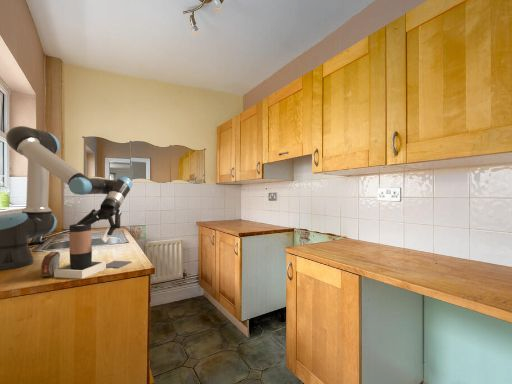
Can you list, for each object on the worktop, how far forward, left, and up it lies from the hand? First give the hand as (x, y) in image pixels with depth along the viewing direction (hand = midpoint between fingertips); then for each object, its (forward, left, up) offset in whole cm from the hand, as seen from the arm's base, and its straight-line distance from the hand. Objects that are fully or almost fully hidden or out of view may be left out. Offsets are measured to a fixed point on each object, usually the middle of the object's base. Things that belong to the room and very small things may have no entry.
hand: (88, 240), depth 109 cm
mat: (+6, +9, -13) cm, 17 cm away
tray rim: (-1, -3, -13) cm, 13 cm away
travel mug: (-1, -3, -13) cm, 13 cm away
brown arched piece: (-13, -5, -13) cm, 19 cm away
